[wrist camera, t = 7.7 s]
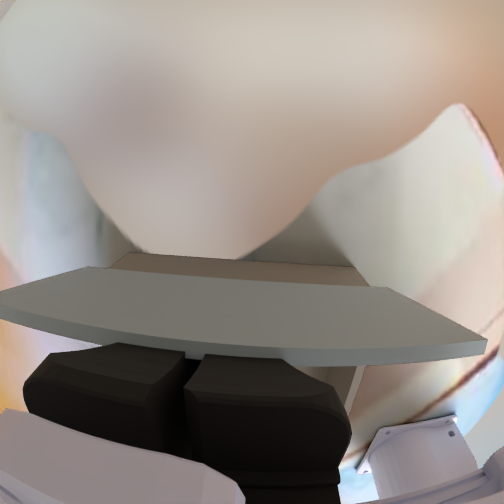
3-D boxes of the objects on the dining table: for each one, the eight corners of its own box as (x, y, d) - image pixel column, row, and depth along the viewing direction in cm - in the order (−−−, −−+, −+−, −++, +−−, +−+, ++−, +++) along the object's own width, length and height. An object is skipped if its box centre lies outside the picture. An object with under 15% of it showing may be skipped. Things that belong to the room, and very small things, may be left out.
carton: (354, 267, 18) (383, 303, 13) (317, 423, 22) (325, 470, 17) (129, 252, 18) (91, 282, 13) (150, 410, 22) (134, 453, 18)
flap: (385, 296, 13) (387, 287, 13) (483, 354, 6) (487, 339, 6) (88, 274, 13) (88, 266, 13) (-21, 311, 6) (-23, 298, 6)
